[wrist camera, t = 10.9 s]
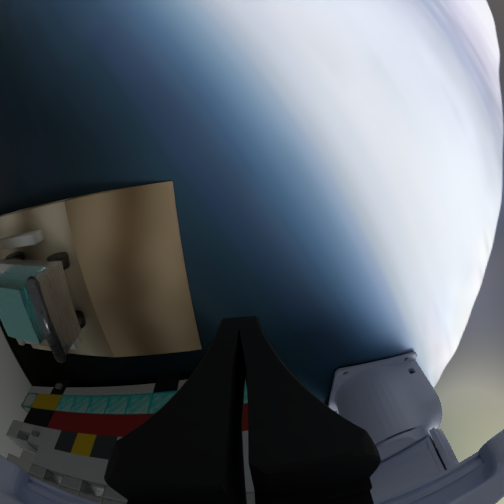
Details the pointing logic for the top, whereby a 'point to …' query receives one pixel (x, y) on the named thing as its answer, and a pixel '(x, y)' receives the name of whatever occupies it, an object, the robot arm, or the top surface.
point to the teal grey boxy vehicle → (39, 302)
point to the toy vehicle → (92, 432)
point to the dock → (114, 267)
